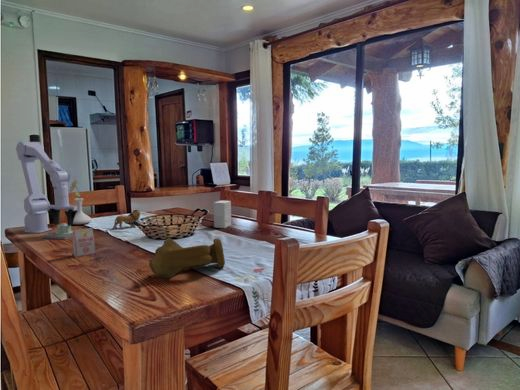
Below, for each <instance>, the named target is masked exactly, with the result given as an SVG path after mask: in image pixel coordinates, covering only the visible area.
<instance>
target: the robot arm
mask: <svg viewBox="0 0 520 390" xmlns="http://www.w3.org/2000/svg"><path fill="white" fill-rule="evenodd" d="M44 148H45V147H44V145H43V144H42V142H40V141H18V142H17V144H16V148H15V150H16V154H17V158H18V160H19V161H20V163H21V167H22V168H21V169H22V171H23V172H22V173H23V176H24V179H25V184H26V188H27V193H28V195H27V196H26V197H25V198H24V199H23V204H24V205H23V209H24V211H25V213H26V215H25V216H24V218H23V219H24V222H23V223H24V231H23V233H32V234H33V233H34V234H40V233H45V232H48V231H52V230H53V228H50V227H48V217H47V213H48V214H49V216H50V217H51V219H52V222H53V225H54V226H58V225H60V213H61V211H64V213H65V216H66V220H67V224H68V226H71V227H72V226H73V225H74V224H73V221H74V217H75V215H76V213H77V205H72V204H70V200H69V186H68V185H69V184H68V182H70V180H71V174H70V173H69V171H68V169H64V168H62V167H60V165H59V164H58V163H57V162H56V161H55V160H54V159H50V157H49V155H48V154H47V153H46V151H45V149H44ZM36 160H39V161H40V162H41V163H42V168H43V169H44V170H45V172H46V173H47V174H48V175H49V179H50V182H51V184H52V185H51V186H52V187H53V193H54V204H51V203H50V201H49V200H48V197H47V195H45V194H44V193H42V192H41V188H40V187H41V186H40V184H39V183H40V182H39V179H38V175H37V171H36V166H35V161H36Z"/></svg>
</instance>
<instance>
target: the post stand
mask: <svg viewBox="0 0 520 390" xmlns="http://www.w3.org/2000/svg"><path fill="white" fill-rule="evenodd" d="M67 224H68V223H66V222H65V223H60V225H61V226H67ZM73 230H74V229H71V232H70V233H64V234H59V233H58V232H57V231H53V232H50V233H46V234H43V235H42V239H51V240H52V239H54V240H67V239H71V238H73Z"/></svg>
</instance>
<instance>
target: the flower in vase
mask: <svg viewBox="0 0 520 390" xmlns="http://www.w3.org/2000/svg"><path fill="white" fill-rule="evenodd" d="M77 185H78V178H76V179H74V180H73V181H72V182H71V185H70V186H68V192H69V193H72V192H73V191H74V189H76V190H77V191H76V192H75V196H76V198H73V201H74V202H75V205H76V206H77V213H76V215H75V217H74V221H73V225H85V224H89V223H90V222H92V220H93V219H92V218H91V217H90V216H89V215H88V214H86V213H84V212H83V206H82V205H83V201H84V199H85V198H83V197H81V193H80V191H79V189H78V187H77ZM80 197H81V198H80Z"/></svg>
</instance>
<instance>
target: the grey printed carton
mask: <svg viewBox="0 0 520 390" xmlns="http://www.w3.org/2000/svg"><path fill="white" fill-rule="evenodd" d="M72 230H73V237H72V247H73V249H72V250H73V251H72V252H73V256H74V257H75V258H81V257H86V256H91V255H95V254H96V249H95V248H96V246H95V245H96V244H95V236H94V230H93V227H89V228H82V229H72Z"/></svg>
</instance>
